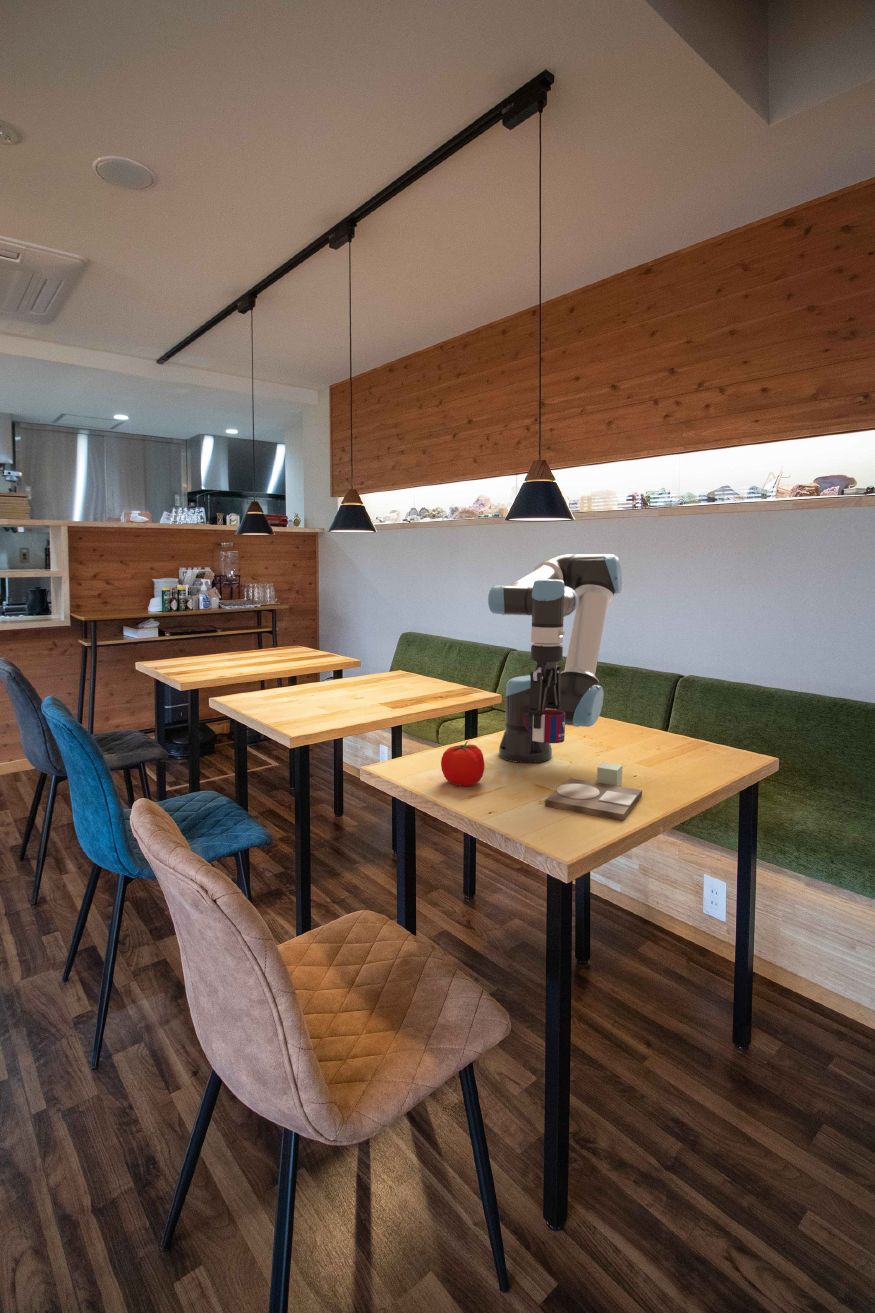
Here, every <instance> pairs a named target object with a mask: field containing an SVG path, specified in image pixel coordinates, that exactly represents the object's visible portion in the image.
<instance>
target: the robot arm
mask: <svg viewBox="0 0 875 1313" xmlns="http://www.w3.org/2000/svg"><path fill="white" fill-rule="evenodd" d="M622 578H623V576H622V568H621V561H620V558H619V557H618V556H617V555H615V554H613V553H612V554H611V553H607V554H606V553H602V554H601V553H595V554H594V553H593V554H592V553H589V554H588V553H586V554H585V553H581V554H580V553H567V554H566V553H565V554H562V555H561V554H560V555H558V556H555V557H552V558H549V559H546V560H543V561H542V562H540V563H538V564H537V565H536V566H535V567H534V569H533V570H532V572H530V573H528V574H526V575H525V576H523V577H521V578H519V579H518V580H516V581H514V582H513V583H511V584H509V585H503V584H501V585H492V587H491V588H490V589H489V593H488V596H487V597H488V598H487V602H488V605H487V606H488V609H489V611H490V612H491V613H492V614H495V615H502V616H506V615H508V616H531V626H530V627H531V632H530V635H531V636H530V642H531V646H530V660H532V661H533V662H536V665H535V666H536V667H535V670H534V671H530V674H528V675H522V676H521V675H520V676H517V677H512V678H510V679H509V680H508V681H507V683H506V690H505V694H504V695H505V729H504V732H503V735H502V737H501V741H500V744H499V747H498V748H499V749H498V755H499V757H500V758H502V759H504V760H506V761H510V762H515V763H524V764H525V763H526V764H529V763H530V764H534V763H541V762H546V761H549V760H550V759H551V758H552V755H553V748H552V744H551V743H544V729H545V715H543V711H544V710H559V711H563V712H565V726H572V727H575V728H579V727H587V728H589V727H592V726H594V725H595V724H596V723H597V721H598V719H599V717H600V715H601V712H602V709H603V704H604V702H603V701H604V695H605V694H604V692H605V691H604V687H602V686H601V685H600V680H599V679H598V678H597V677H596V671H597V665H598V664H597V663H598V660H599V654H600V647H601V642H602V637H603V631H604V624H605V619H606V613H607V608H608V605H609V604H610V603H612V601H614V597H615V595H618V594H621V591H622V588H623V586H622V584H623V582H622V581H623V580H622ZM574 612H575V614H574V617H573V623H572V628H571V629H572V630H571V634H570V638H569V644H568V650H567V655H566V659H565V660H566V661H565V666H564V670H562V666H561V665H557V662H559V663H560V662H561V661H563V653H564V649H563V648H564V647H563V645H561V644H562V643H563V641H564V635H565V634H566V633H565V631H564V617H566V616H570V615H571V614H573V613H574ZM527 713H529V715H528V717H527V724H528V726H529V728H530V729H532V730H533V733H531V732H530V731H529V730H528V729H527V728H526V727H525V723H524V719H525V716H526V714H527Z"/></svg>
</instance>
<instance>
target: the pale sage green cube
mask: <svg viewBox="0 0 875 1313" xmlns="http://www.w3.org/2000/svg"><path fill="white" fill-rule="evenodd" d="M596 782H597V783H603V784H609V785H615V786H621V785H622V784H623V764H619V763H612V762H605V761H603V762H601V763H600V764H599V765H597V768H596Z"/></svg>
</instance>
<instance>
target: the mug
mask: <svg viewBox="0 0 875 1313" xmlns="http://www.w3.org/2000/svg"><path fill="white" fill-rule="evenodd" d="M528 715H529V713H527V714H526V716H525V719H524V723H525V727H526V728H527V729H528V730H529V731H530V732H531V733H533V730H532V729H530V728H529V726H528V724H527V717H528ZM543 715H545V729H544V743H550V744H561V743H563V742H565V736H566V735H565V732H566V725H565V712H563V711H559V710H544V711H543Z"/></svg>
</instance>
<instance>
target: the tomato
mask: <svg viewBox="0 0 875 1313" xmlns="http://www.w3.org/2000/svg"><path fill="white" fill-rule="evenodd" d="M468 742H469V741H468V740H467V741H466V742H465V743H464V744H459V745H454V746H453V745H452V746H449V747H448V748H447V749H446V750H445V751H444V752H443V754H442V756H441V760H440V767H441V772H442V774H443V777H444V778H445V780H446V781H447V782H448V783H450V784H452V785H455V786H460V787H461V786H462V787H469V786H473V785H475V784H477V783H478V782H480V781H481V780H482V778H483V775H484V772H485V757H484V754H483V752H482V750H481V749H480V747H478V746H477V745H475V744H471V743H470V744H468Z"/></svg>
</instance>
